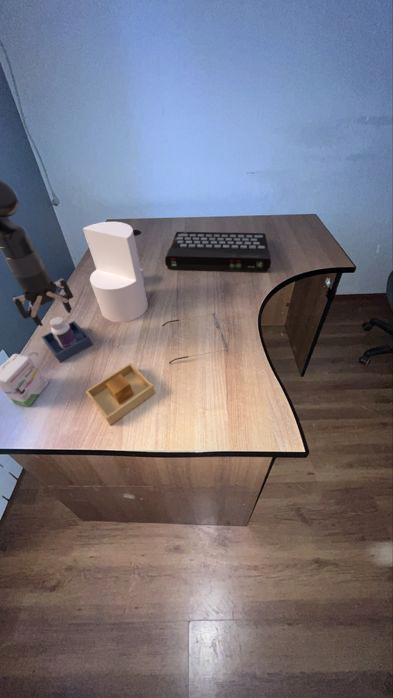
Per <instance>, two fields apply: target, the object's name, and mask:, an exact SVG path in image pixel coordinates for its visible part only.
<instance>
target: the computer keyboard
mask: <svg viewBox="0 0 393 698" xmlns="http://www.w3.org/2000/svg"><path fill="white" fill-rule="evenodd" d="M271 259H272V258H271V254H270V250H269V246H268V240H267V235H266V233H264V232H222V231H221V232H220V231H219V232H216V231H215V232H214V231H211V232H210V231H176V232H175V234H174V237H173V239H172V242H171V244H170V247H169V248H168V250H167V253H166V255H165V258H164V263H165V266H166V268H167V269H169V270H189V271H191V270H192V271H194V270H195V271H219V272H220V271H221V272H222V271H223V272H252V273H253V272H255V273H257V272H260V273H267V272H268V271H269V270H270V269H271V265H272V260H271Z"/></svg>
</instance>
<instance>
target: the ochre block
mask: <svg viewBox="0 0 393 698" xmlns="http://www.w3.org/2000/svg"><path fill="white" fill-rule="evenodd" d="M106 386H107V388H108V390H109V392H110V394H111V395H112V396H113V398H114V399H115V400H116V401H117V402H118V404H121V403H122V402H124V401H125V400H126V399H128V398H129V397H131V396H132V395H134V394H133V391H132V388H131V386H130V383H129V382H128V381H127V380H126V379H125V378H124V377H123V376H122V375H121V374H120V375H118V376H116V377H115V378H113V379H112V380H110V381H109V382H107V383H106Z"/></svg>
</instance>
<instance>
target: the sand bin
mask: <svg viewBox="0 0 393 698" xmlns="http://www.w3.org/2000/svg"><path fill="white" fill-rule="evenodd" d="M120 374H121V375H122V376H123V377H124V378H125V379H126V380H127V381H128V382H129V383H130V386H131V388H132V391H133V394H134V395H132V396H131V397H129V398H128V399H126V400H125V401H124V402H122V403H121V404H118V402H117V401H116V400H115V399H114V398H113V396H112V395H111V394H110V392H109V390H108V388H107V386H106V383H107V382H109V381H110V380H112V379H113V378H115V377H116V376H118V375H120ZM85 393H86V395H87V396H88V398H89V400H90V401H91V402H92V403H93V405H94V406H95V407H96V409H97V410H98V411H99V413H100V414H101V416H102V417H103V418H104V419H105V421H106V422H107V424H108V425H109V426H112V425H113V424H115V423H116V422H117V421H119V420H120V419H122V418H123V417H124V416H125V415H127V414H128V413H130V412H131V411H132V410H134V409H135V408H137V407H138V406H140V405H141V404H142V403H143V402H145V401H146V400H148V399H149V398H150V397H152V396H153V395H155V393H156V391H155V387H154V384H153V383H151V382H150V381H149V380H148V378H146V377H145V375H143V373H142V372H140V371H139V369H138V368H137V367H135V366H134V365H133V364H132V363H131V362H129V363H128V364H126V365H124V366H122V367H121V368H120V369H118V370H116V371H115V372H113V373H112V374H110V375H109V376H107V377H106V378H103V379H102V380H100V381H99V382H97V383H96V384H94V385H92V386H91V387H89V388H88V389H87V390H85Z"/></svg>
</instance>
